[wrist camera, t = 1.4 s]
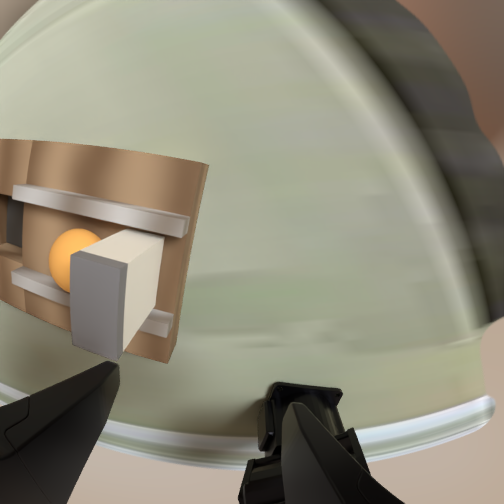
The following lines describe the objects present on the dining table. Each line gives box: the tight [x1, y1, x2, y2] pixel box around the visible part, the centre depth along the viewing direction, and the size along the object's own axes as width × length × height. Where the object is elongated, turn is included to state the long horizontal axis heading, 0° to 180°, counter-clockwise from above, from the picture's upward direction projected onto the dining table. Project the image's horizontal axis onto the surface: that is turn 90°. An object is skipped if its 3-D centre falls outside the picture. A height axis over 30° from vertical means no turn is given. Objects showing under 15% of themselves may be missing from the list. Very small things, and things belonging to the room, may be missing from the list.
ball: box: [49, 229, 101, 293], centre depth 16 cm, size 4×4×4 cm
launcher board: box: [0, 139, 209, 364], centre depth 18 cm, size 21×14×4 cm, turn 77°
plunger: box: [70, 228, 165, 361], centre depth 14 cm, size 2×5×6 cm, turn 167°
